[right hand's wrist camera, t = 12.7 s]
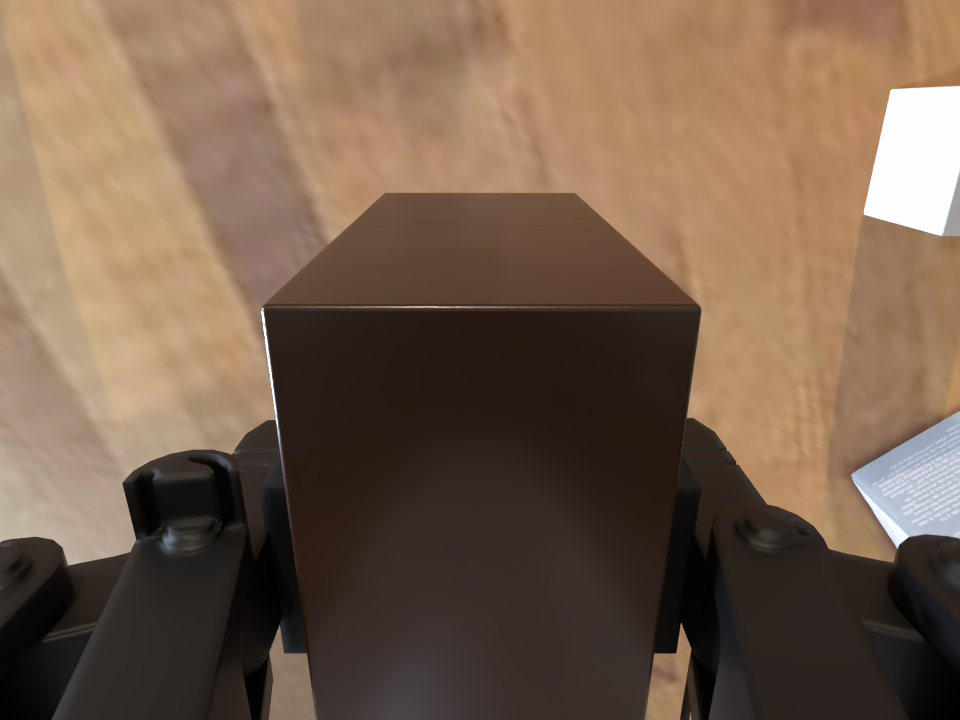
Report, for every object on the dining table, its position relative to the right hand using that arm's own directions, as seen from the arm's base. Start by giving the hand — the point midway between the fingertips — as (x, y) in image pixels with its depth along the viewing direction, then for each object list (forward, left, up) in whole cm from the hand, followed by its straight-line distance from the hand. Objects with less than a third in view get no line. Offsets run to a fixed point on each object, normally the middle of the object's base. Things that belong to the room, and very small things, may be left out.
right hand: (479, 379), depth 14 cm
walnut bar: (0, -9, 0) cm, 9 cm away
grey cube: (+19, +4, -15) cm, 24 cm away
